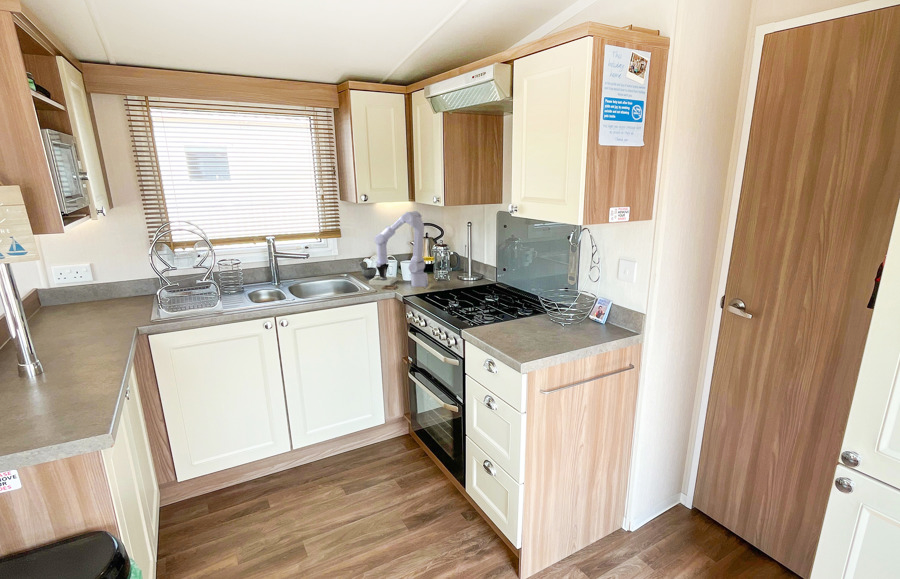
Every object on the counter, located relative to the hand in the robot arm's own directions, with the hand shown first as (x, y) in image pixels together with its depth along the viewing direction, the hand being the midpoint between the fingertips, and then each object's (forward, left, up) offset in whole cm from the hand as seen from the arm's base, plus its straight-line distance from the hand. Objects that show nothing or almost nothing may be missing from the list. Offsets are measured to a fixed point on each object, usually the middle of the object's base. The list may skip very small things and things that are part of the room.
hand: (383, 276), depth 267 cm
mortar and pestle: (+15, -13, -5) cm, 20 cm away
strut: (0, 0, -2) cm, 2 cm away
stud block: (-9, +14, -5) cm, 17 cm away
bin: (0, 0, -5) cm, 5 cm away
